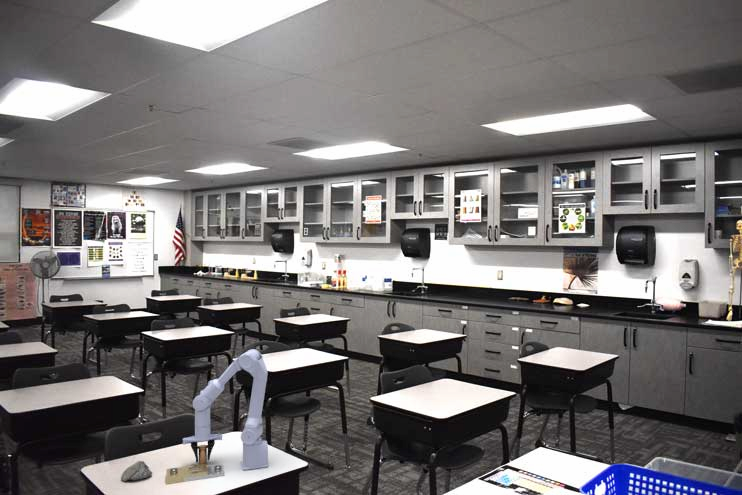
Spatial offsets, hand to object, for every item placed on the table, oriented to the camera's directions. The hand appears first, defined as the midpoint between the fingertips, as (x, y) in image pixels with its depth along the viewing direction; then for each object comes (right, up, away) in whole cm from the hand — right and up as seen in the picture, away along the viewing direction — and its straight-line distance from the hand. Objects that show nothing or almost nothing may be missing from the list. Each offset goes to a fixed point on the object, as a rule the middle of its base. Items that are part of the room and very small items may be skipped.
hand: (202, 460), depth 206 cm
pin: (0, -2, 0) cm, 2 cm away
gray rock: (-21, -2, -11) cm, 24 cm away
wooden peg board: (+1, -1, -10) cm, 11 cm away
